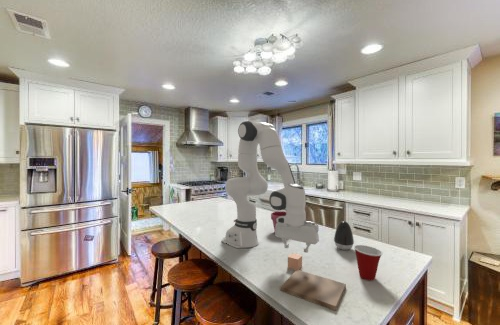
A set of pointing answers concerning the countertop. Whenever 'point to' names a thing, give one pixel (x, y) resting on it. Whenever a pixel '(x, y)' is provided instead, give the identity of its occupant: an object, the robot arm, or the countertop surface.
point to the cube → (295, 261)
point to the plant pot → (275, 216)
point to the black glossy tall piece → (343, 236)
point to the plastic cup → (367, 261)
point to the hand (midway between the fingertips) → (296, 249)
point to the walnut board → (314, 289)
